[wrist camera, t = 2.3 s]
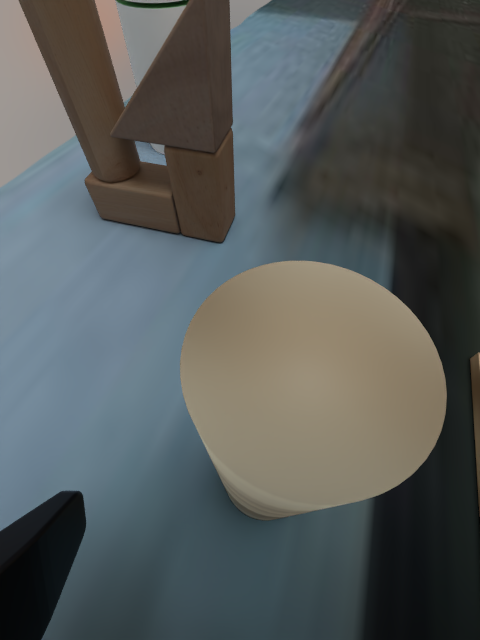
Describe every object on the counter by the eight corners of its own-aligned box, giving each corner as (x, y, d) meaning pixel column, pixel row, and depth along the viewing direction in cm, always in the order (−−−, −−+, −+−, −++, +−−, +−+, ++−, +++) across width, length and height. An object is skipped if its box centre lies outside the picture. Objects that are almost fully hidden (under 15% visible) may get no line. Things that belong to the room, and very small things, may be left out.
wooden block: (223, 245, 25) (190, -200, 10) (100, 220, 26) (-93, -189, 11) (236, 215, 27) (227, -195, 11) (121, 194, 28) (-20, -187, 13)
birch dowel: (293, 534, 14) (448, 559, 4) (211, 501, 15) (131, 439, 4) (311, 446, 16) (445, 291, 6) (238, 421, 17) (231, 241, 6)
